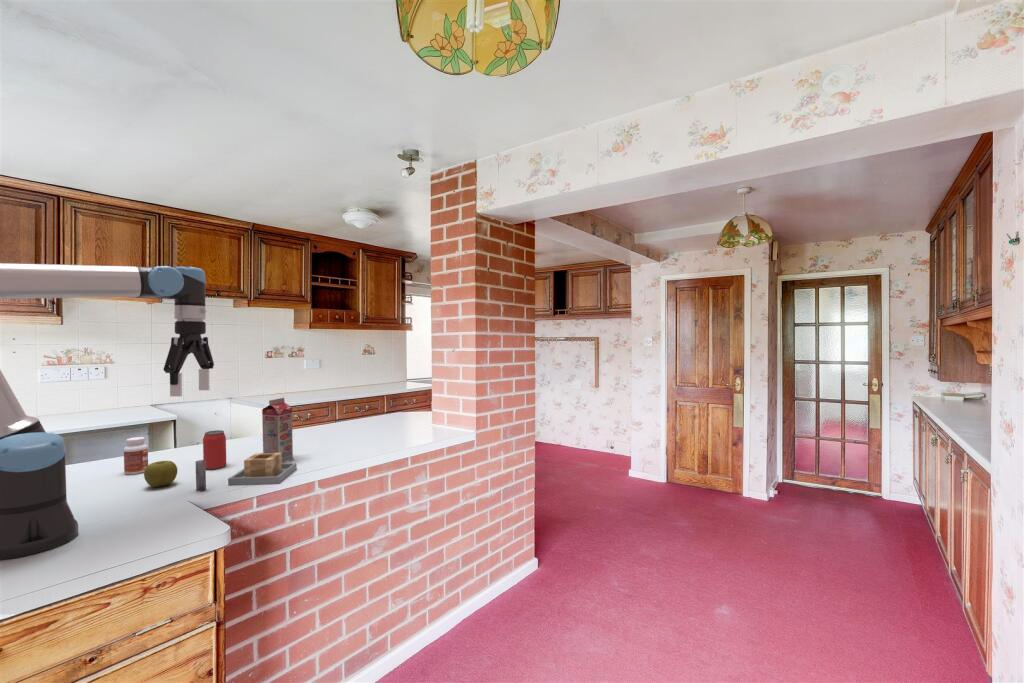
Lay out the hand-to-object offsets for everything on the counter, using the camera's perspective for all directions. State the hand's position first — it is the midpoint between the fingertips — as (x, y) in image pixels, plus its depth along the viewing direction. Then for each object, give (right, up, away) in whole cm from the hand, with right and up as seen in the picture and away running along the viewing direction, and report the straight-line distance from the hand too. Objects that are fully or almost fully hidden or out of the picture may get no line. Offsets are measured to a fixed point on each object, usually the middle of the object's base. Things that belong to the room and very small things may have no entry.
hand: (190, 393), depth 137 cm
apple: (-11, -28, +3) cm, 30 cm away
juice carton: (+11, -27, +29) cm, 41 cm away
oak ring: (+16, -27, +11) cm, 33 cm away
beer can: (-6, -28, +21) cm, 35 cm away
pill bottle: (-29, -28, +16) cm, 43 cm away
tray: (+16, -28, +11) cm, 34 cm away
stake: (+4, -28, -1) cm, 28 cm away
